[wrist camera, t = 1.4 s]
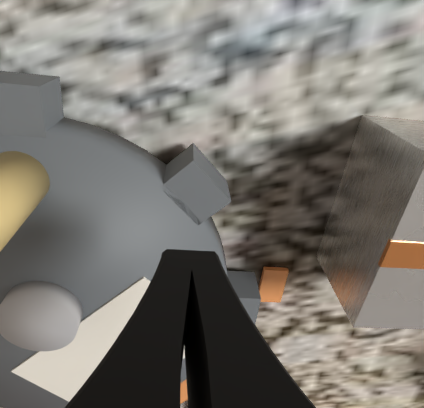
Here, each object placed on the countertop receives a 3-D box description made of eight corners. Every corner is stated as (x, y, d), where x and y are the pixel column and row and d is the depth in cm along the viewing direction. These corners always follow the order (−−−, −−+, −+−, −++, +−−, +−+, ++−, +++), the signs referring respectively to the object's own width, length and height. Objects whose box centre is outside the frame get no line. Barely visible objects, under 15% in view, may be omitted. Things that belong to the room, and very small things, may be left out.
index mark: (279, 298, 20) (280, 302, 20) (256, 297, 20) (257, 301, 20) (287, 267, 19) (288, 271, 19) (263, 266, 19) (264, 270, 19)
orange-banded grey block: (382, 258, 19) (439, 330, 15) (315, 255, 19) (353, 328, 15) (443, 122, 16) (542, 164, 11) (360, 114, 15) (430, 155, 11)
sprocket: (227, 397, 24) (239, 526, 18) (-89, 395, 22) (-196, 540, 16) (291, 99, 14) (369, 165, 8) (-285, 43, 12) (-781, 73, 6)
